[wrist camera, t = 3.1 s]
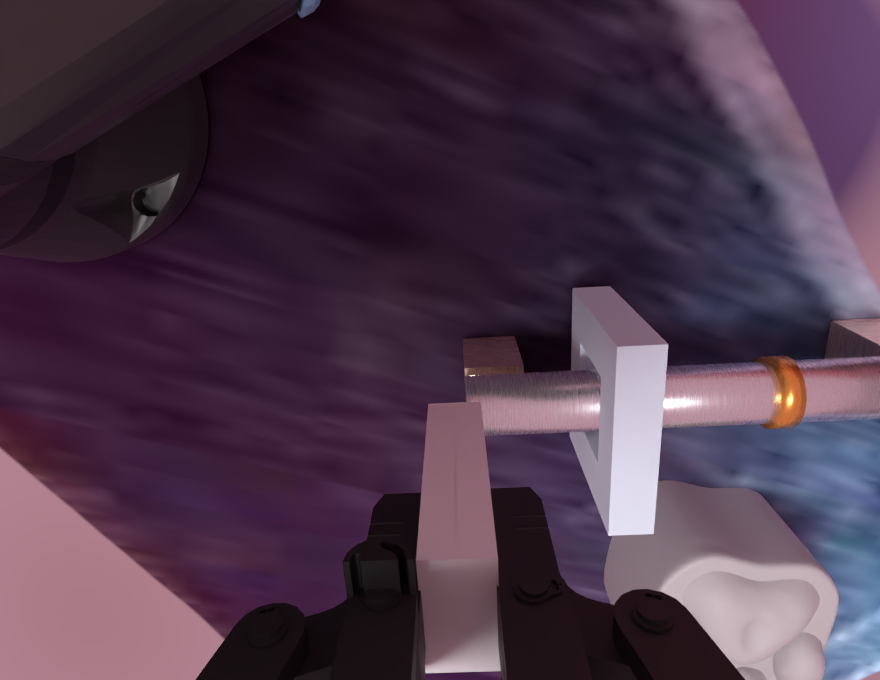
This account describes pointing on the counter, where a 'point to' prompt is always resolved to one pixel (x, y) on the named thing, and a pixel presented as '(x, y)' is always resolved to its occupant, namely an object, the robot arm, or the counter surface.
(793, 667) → the lumpy-topped squat cylinder
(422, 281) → the counter surface
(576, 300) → the white square holed plate
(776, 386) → the pipe rig
